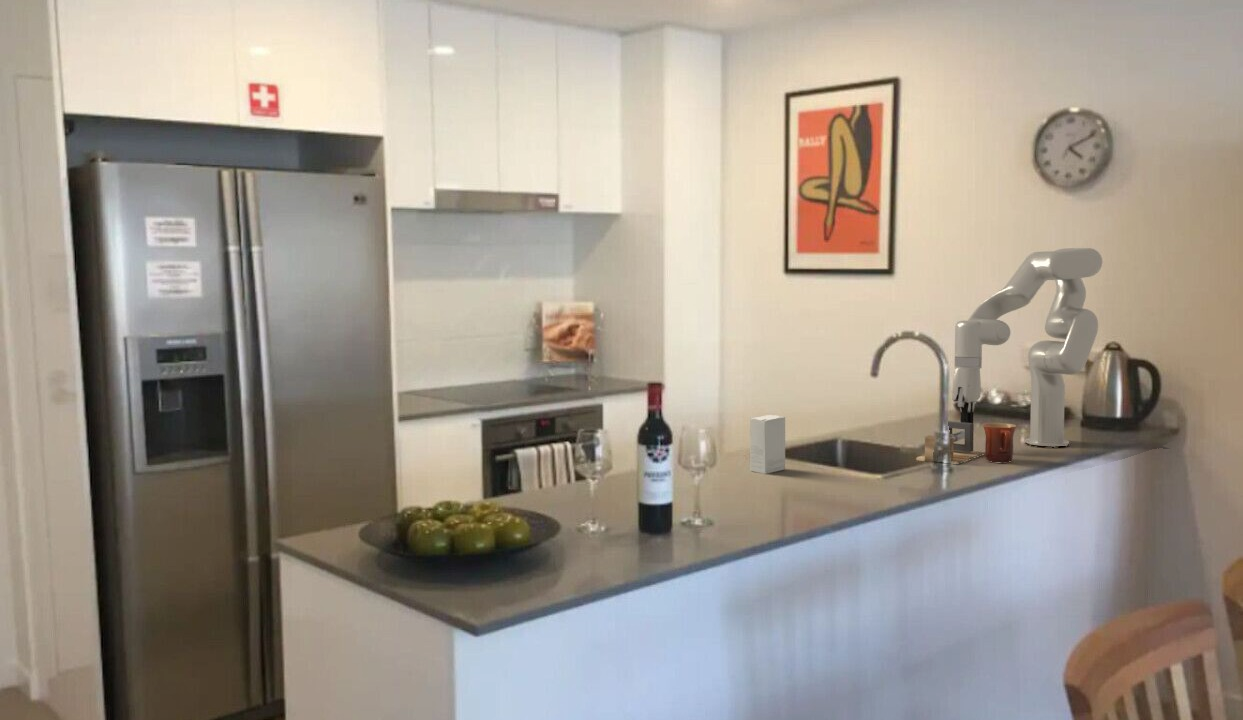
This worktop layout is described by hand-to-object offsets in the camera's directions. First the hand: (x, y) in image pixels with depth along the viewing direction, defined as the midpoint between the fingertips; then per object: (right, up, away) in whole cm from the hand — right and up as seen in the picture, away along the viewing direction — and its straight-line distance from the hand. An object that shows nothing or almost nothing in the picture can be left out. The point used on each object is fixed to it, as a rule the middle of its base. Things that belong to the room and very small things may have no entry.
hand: (966, 425), depth 309 cm
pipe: (-6, -5, -7) cm, 10 cm away
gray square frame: (-4, -7, -4) cm, 9 cm away
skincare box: (-62, -11, -23) cm, 67 cm away
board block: (-7, -9, -7) cm, 13 cm away
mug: (+4, -10, -16) cm, 19 cm away
